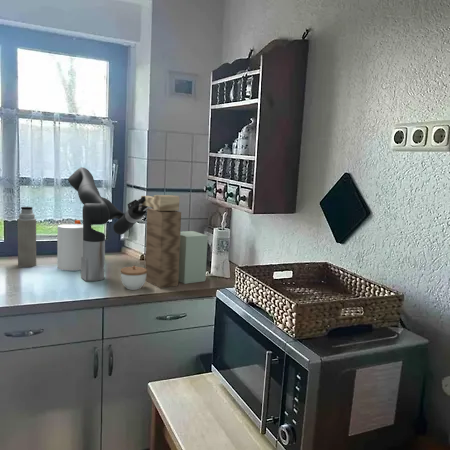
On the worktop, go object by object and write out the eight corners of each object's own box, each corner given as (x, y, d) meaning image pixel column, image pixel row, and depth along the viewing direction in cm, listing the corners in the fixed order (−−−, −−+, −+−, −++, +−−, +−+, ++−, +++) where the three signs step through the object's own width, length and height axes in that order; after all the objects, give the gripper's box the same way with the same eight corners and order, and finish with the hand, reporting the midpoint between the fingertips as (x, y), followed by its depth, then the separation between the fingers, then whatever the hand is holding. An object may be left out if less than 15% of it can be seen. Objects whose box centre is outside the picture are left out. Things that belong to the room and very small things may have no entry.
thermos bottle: (29, 262, 219) (29, 205, 216) (39, 265, 215) (39, 207, 211) (14, 265, 213) (13, 206, 209) (24, 268, 209) (24, 208, 205)
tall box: (159, 288, 189) (162, 212, 184) (144, 279, 200) (147, 208, 195) (178, 285, 194) (181, 212, 189) (163, 277, 205) (165, 208, 201)
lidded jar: (114, 287, 186) (115, 265, 185) (135, 282, 195) (135, 261, 193) (131, 293, 180) (131, 270, 178) (151, 288, 188) (152, 266, 187)
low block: (184, 283, 197) (186, 236, 194) (170, 276, 208) (172, 232, 205) (205, 281, 204) (207, 235, 201) (190, 274, 214) (192, 230, 211)
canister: (86, 270, 211) (86, 228, 208) (55, 270, 207) (55, 227, 205) (87, 263, 224) (88, 224, 221) (59, 263, 220) (59, 223, 218)
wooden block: (179, 210, 191) (179, 196, 190) (160, 210, 186) (160, 196, 185) (153, 204, 210) (154, 191, 209) (135, 204, 205) (136, 191, 204)
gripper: (119, 205, 214) (133, 190, 200) (147, 205, 222) (161, 190, 209) (122, 220, 211) (136, 205, 198) (150, 219, 220) (165, 205, 207)
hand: (149, 198), depth 204 cm, fingers closed on wooden block, 4 cm apart
